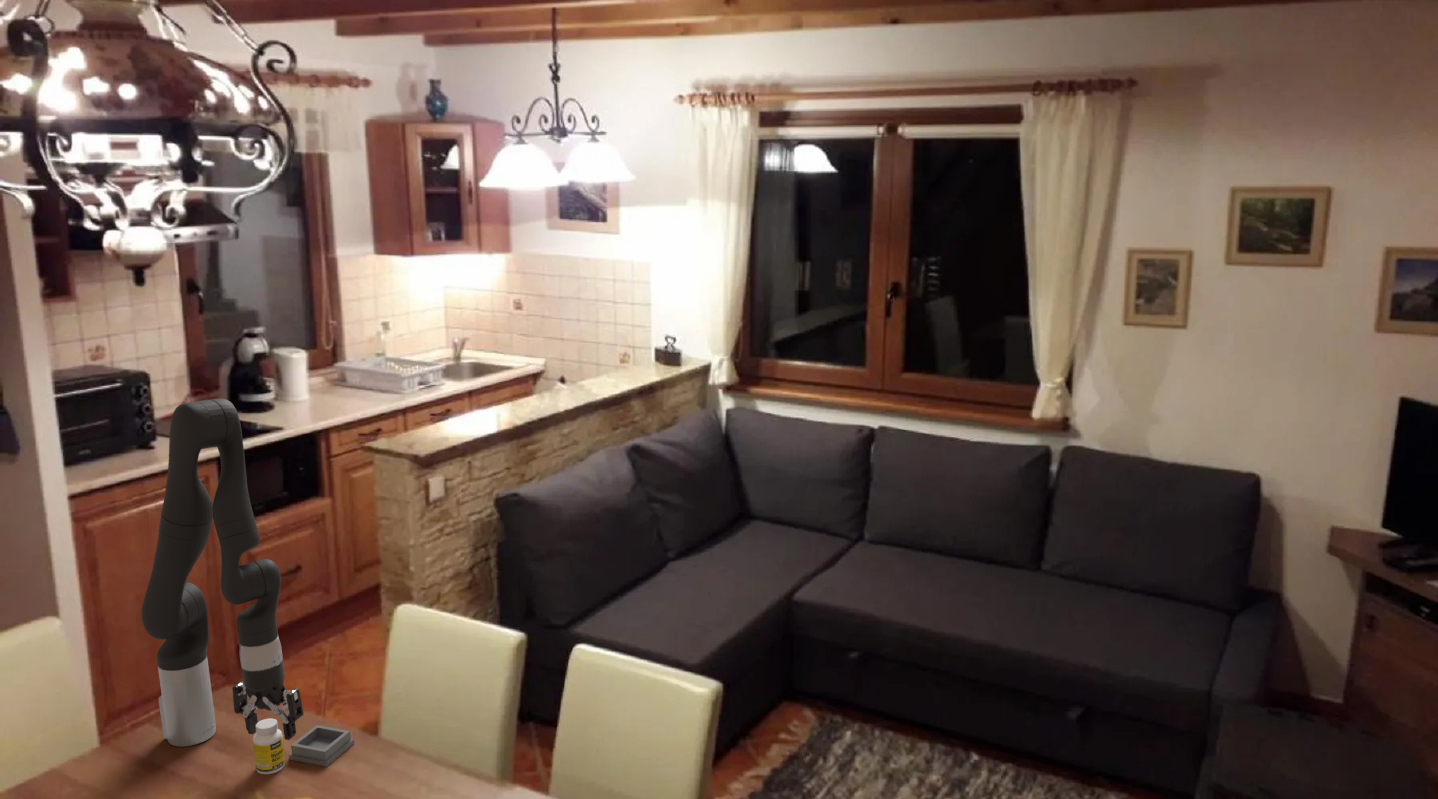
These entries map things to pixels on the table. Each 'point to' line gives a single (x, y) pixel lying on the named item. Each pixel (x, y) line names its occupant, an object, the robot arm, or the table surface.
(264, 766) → the supplement bottle
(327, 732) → the square open box
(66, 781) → the table surface
